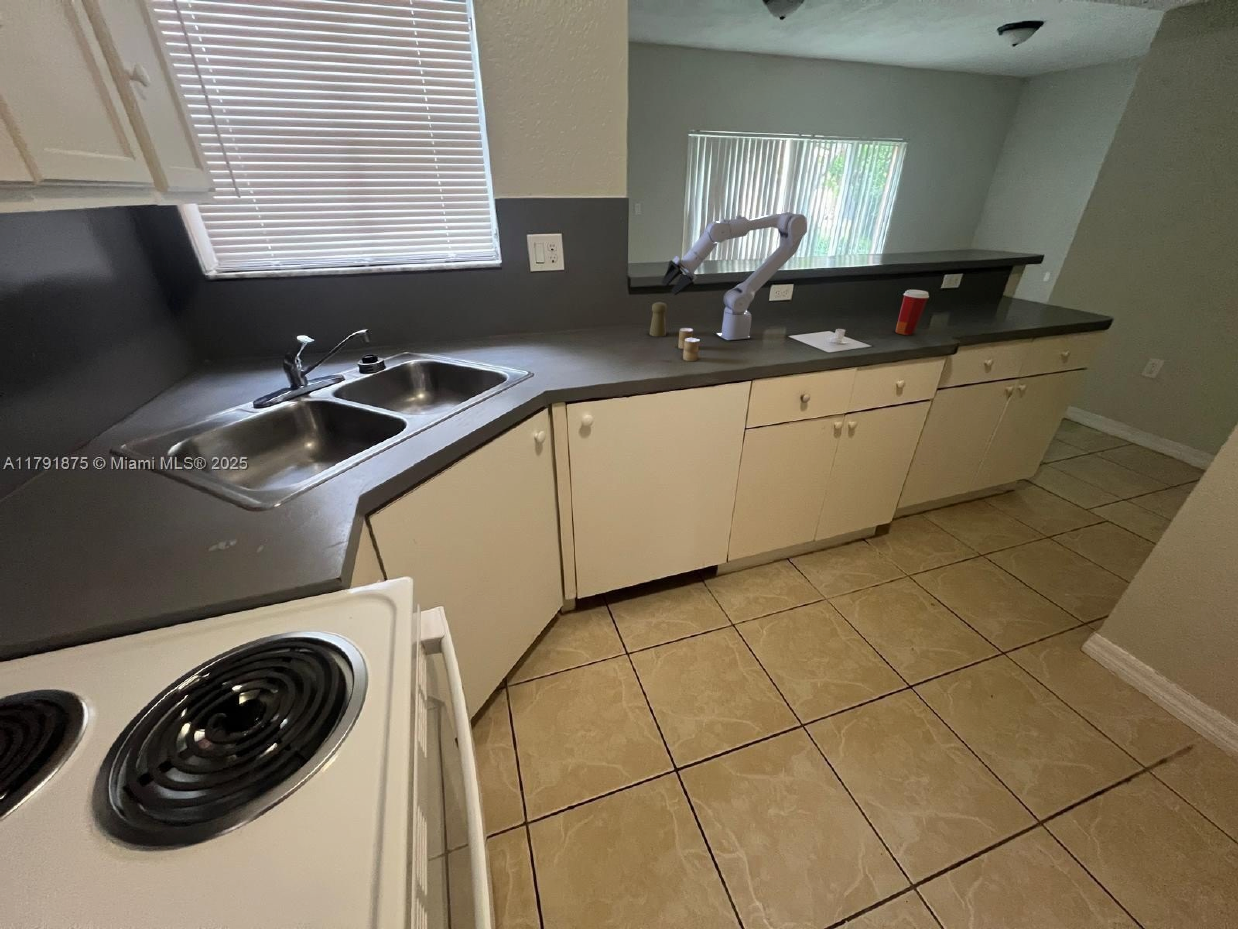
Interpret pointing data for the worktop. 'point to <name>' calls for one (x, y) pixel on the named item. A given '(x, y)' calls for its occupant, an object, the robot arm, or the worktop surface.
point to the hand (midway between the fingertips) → (668, 289)
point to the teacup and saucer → (830, 341)
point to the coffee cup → (911, 311)
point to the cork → (658, 320)
